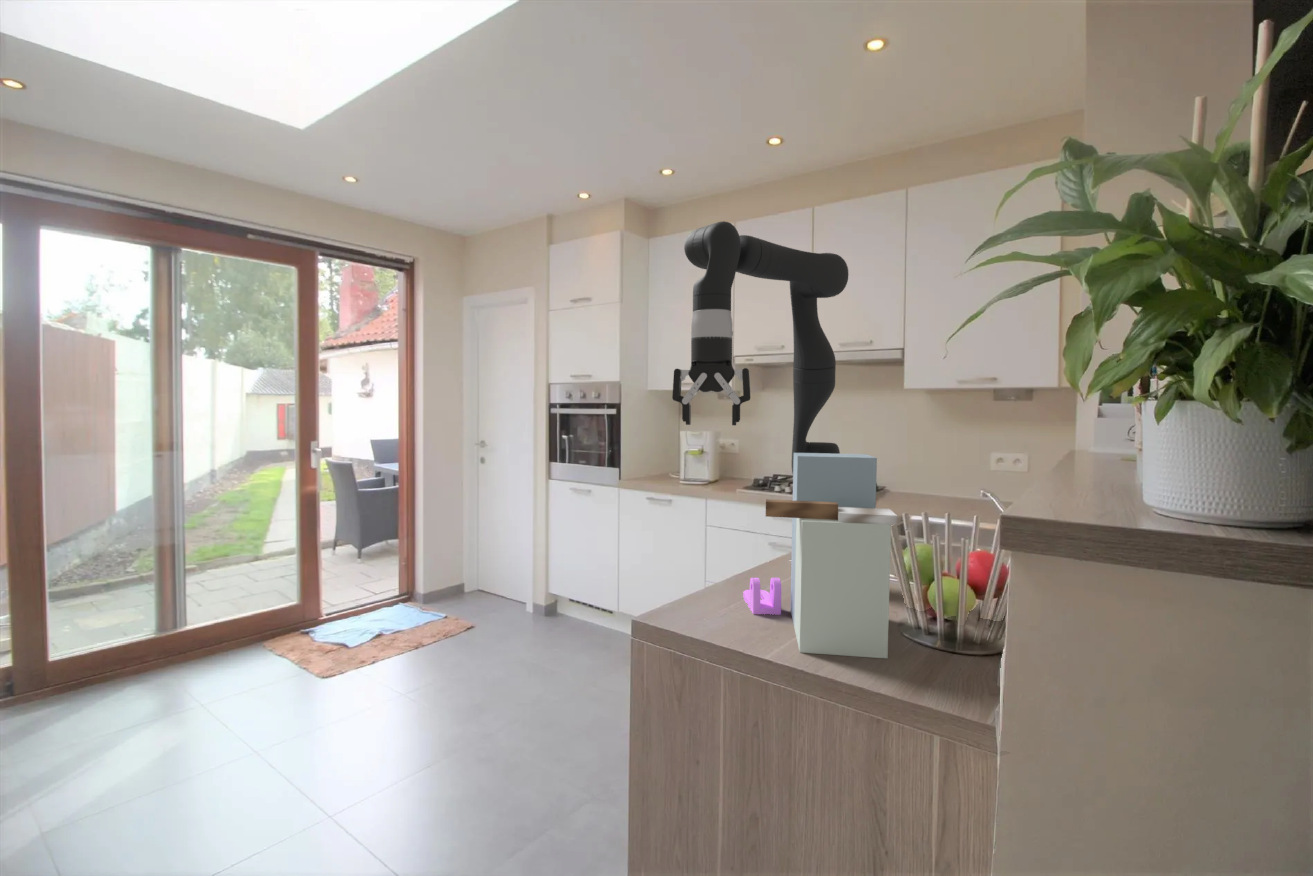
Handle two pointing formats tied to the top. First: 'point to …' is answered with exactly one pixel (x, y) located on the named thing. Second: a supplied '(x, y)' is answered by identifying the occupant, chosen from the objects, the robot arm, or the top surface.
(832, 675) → the top surface
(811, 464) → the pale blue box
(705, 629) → the top surface
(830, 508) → the turner
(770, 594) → the bracket
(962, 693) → the top surface
